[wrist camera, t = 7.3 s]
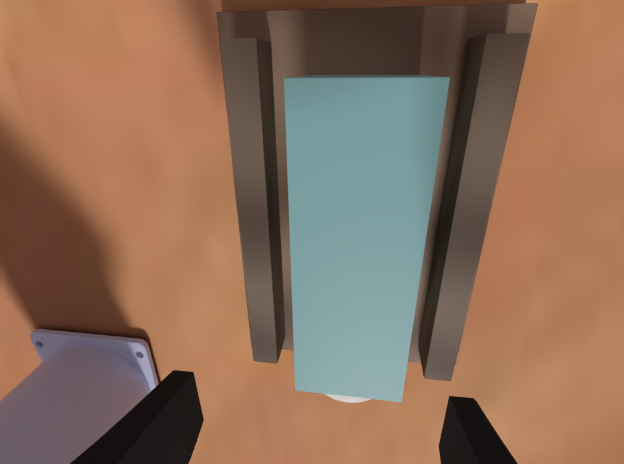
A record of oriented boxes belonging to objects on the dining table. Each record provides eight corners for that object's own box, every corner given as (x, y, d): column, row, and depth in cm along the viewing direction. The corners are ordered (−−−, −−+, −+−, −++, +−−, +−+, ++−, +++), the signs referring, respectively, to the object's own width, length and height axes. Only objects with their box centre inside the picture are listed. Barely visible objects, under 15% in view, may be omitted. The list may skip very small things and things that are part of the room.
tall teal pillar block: (389, 334, 18) (398, 423, 13) (312, 328, 18) (296, 411, 14) (419, 74, 13) (450, 77, 8) (311, 75, 13) (283, 78, 9)
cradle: (450, 351, 19) (465, 398, 16) (256, 334, 20) (240, 374, 18) (525, 7, 12) (570, -10, 10) (226, 16, 14) (192, 2, 11)
